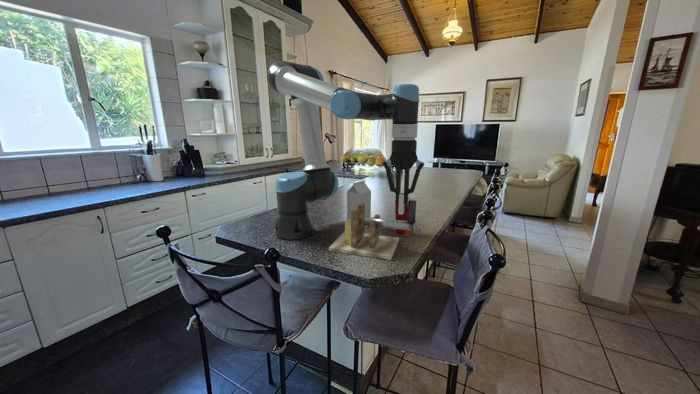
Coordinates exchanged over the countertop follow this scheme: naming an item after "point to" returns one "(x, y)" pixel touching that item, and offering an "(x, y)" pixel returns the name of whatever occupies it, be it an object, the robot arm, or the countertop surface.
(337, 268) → the countertop surface
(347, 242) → the spacer
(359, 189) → the milk carton
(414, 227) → the silver bent bar
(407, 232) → the coffee cup
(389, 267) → the countertop surface
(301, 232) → the robot arm
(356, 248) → the wooden stand with blocks
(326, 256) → the countertop surface
